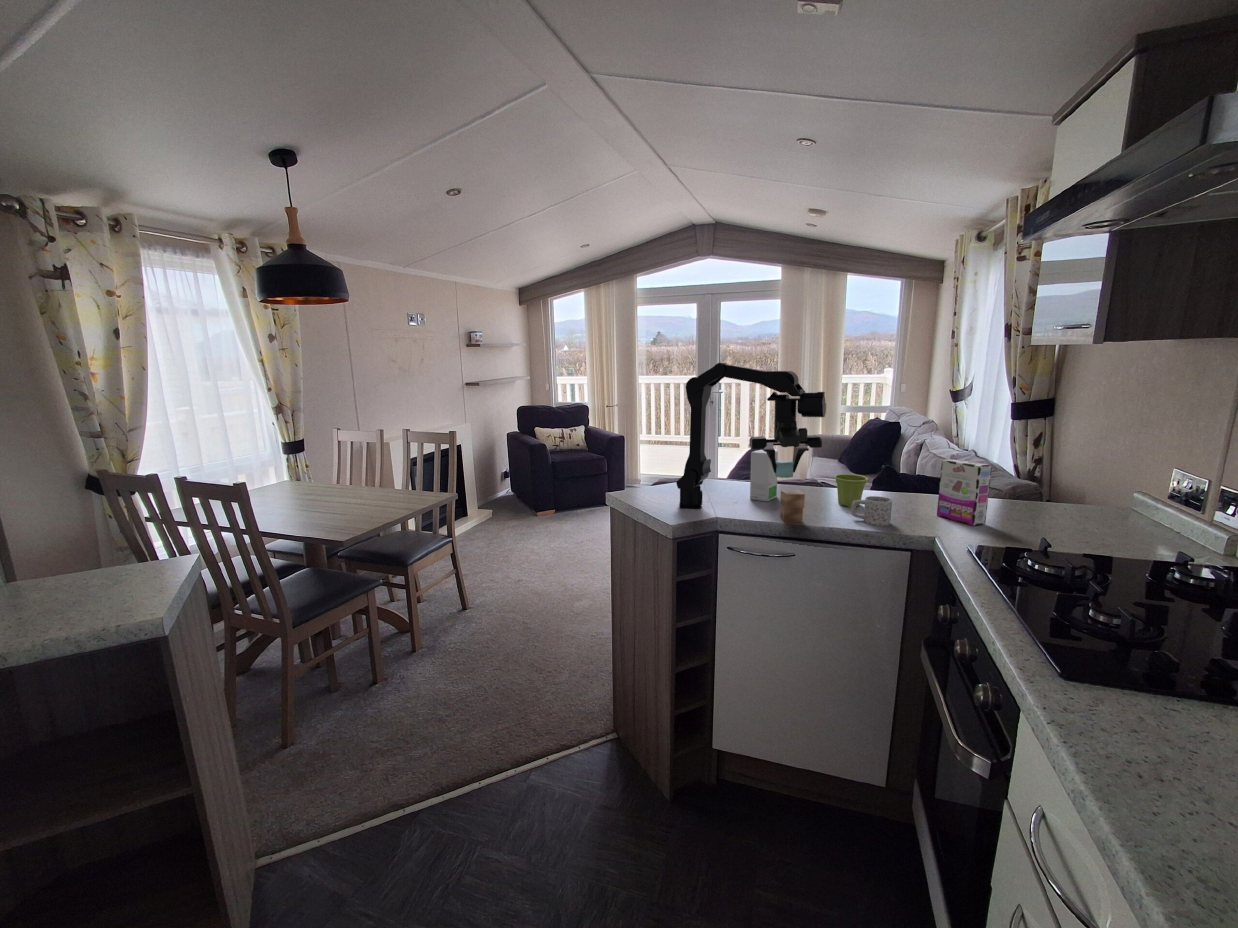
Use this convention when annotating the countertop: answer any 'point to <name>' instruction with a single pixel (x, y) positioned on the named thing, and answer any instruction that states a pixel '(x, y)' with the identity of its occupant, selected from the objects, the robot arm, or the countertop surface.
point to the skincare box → (762, 477)
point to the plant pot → (849, 488)
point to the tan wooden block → (792, 499)
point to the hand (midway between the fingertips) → (784, 472)
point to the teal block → (784, 469)
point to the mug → (874, 510)
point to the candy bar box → (964, 491)
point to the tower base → (791, 514)
